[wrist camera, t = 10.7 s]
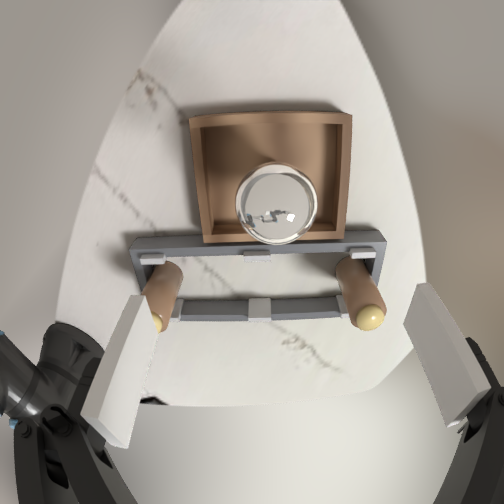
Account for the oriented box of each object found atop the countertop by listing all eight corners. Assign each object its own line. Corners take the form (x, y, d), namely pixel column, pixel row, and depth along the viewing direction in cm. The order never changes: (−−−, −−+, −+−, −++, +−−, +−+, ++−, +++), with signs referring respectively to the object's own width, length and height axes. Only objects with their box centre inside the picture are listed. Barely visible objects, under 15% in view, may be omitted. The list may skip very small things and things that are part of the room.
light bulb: (242, 141, 30) (232, 172, 20) (307, 147, 30) (333, 180, 20) (239, 201, 33) (229, 258, 23) (300, 206, 34) (317, 264, 23)
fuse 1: (156, 287, 41) (136, 337, 33) (149, 261, 39) (124, 311, 30) (185, 287, 41) (169, 339, 32) (180, 260, 39) (160, 312, 30)
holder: (156, 306, 43) (149, 324, 40) (136, 237, 37) (125, 254, 33) (364, 300, 42) (371, 319, 38) (378, 230, 36) (390, 246, 32)
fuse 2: (333, 283, 40) (349, 336, 32) (336, 256, 38) (356, 307, 29) (362, 281, 40) (384, 332, 31) (367, 255, 38) (393, 304, 29)
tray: (207, 230, 36) (203, 242, 34) (194, 115, 29) (188, 118, 26) (337, 226, 36) (343, 238, 33) (344, 112, 28) (352, 115, 26)
